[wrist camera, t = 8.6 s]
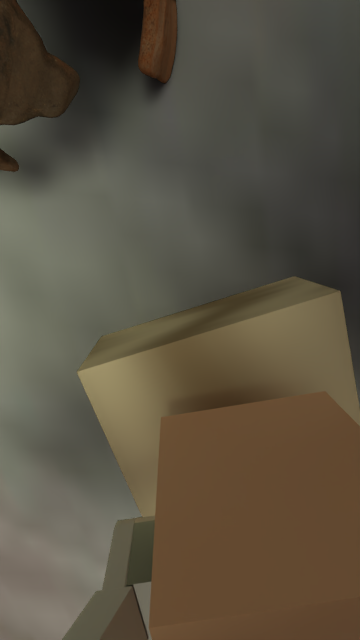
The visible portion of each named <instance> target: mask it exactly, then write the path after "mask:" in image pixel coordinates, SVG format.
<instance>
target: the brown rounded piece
mask: <svg viewBox="0 0 360 640" xmlns="http://www.w3.org/2000/svg"><path fill="white" fill-rule="evenodd" d="M143 6H144V12H143V27H142V34H141V44H140V51H139V58H138V67H139V69H140V71H141V72H142V73H143V74H145V75H147V76H150V77H152V78H157V79H158V80H159V81H160V82H162V83H166V82H167V81H168V79H169V78H170V75H171V71H172V66H173V62H174V58H175V50H176V40H177V9H176V0H144V5H143ZM79 83H80V78H79V75H78V73H77V72H76V71H75V70H74V69H73V68H72V67H70V66H69V65H67V64H66V63H65V62H63V61H62V60H60V59H59V58H57V57H56V56H54V55H52V54H50V53H48V52H47V51H46V49H45V46H44V44H43V41H42V39H41V37H40V36H39V34H38V33H37V31H36V30H35V28H34V26H33V25H32V23H31V21H30V20H29V19H28V18H27V16H26V15H25V13H24V12H23V10H22V9H21V8H20V6H19V5H18V3H17V1H16V0H0V125H17V124H20V123H24V122H26V121H28V120H30V119H32V118H35V117H38V116H39V117H48V118H54V117H59V116H60V115H62V114H63V113H64V112H65V111H66V109H67V108H68V106H69V105H70V103H71V101H72V100H73V98H74V97H75V95H76V94H77V92H78V88H79ZM18 169H19V165H18V163H17V161H16V160H15V159H14V158H12V157H11V156H9V155H8V154H6V153H5V152H4V151H3V150H1V149H0V170H4V171H13V172H15V171H18Z"/></svg>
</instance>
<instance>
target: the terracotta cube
mask: <svg viewBox="0 0 360 640" xmlns="http://www.w3.org/2000/svg"><path fill="white" fill-rule="evenodd" d="M149 631H150V634H151V638H152V640H360V426H359V425H358V424H357V423H356V422H355V421H354V420H353V419H352V418H351V417H350V416H349V415H348V414H347V413H346V412H345V411H344V410H343V409H342V408H341V407H340V406H339V405H338V404H337V403H336V401H335V400H334V399H333V398H332V397H331V396H330V395H329V394H328V393H327V392H326V391H322V392H316V393H310V394H303V395H297V396H291V397H285V398H278V399H272V400H266V401H260V402H253V403H247V404H241V405H234V406H228V407H222V408H216V409H209V410H203V411H197V412H191V413H184V414H178V415H172V416H166V417H161V424H160V441H159V458H158V476H157V493H156V510H155V528H154V545H153V563H152V580H151V597H150V615H149Z"/></svg>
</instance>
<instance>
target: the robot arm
mask: <svg viewBox="0 0 360 640" xmlns="http://www.w3.org/2000/svg"><path fill="white" fill-rule="evenodd" d="M154 528H155V516H147V517H139V518H133V519H125V520H118V521H117V523H116V525H115V528H114V533H113V538H112V543H111V548H110V553H109V558H108V563H107V568H106V573H105V578H104V583H103V588H102V590H101V591H96V592H95V594H94V595H93V596H92V598H91V599H90V601H89V602H88V604H87V605H86V606H85V608H84V609H83V611H82V612H81V613H80V615H79V616H78V618H77V619H76V621H75V622H74V623H73V625H72V626H71V628H70V629H69V630H68V632H67V633H66V635H65V636H64V638H63V639H62V640H152V638H151V634H150V631H149V615H150V597H151V580H152V563H153V545H154Z"/></svg>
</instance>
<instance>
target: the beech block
mask: <svg viewBox="0 0 360 640" xmlns="http://www.w3.org/2000/svg"><path fill="white" fill-rule="evenodd" d="M77 374H78V376H79V378H80V380H81V382H82V385H83V387H84V389H85V391H86V393H87V396H88V398H89V400H90V402H91V405H92V407H93V409H94V411H95V413H96V416H97V418H98V420H99V422H100V424H101V427H102V429H103V431H104V433H105V435H106V438H107V440H108V442H109V444H110V447H111V449H112V451H113V453H114V455H115V458H116V460H117V462H118V464H119V466H120V469H121V471H122V473H123V475H124V477H125V480H126V482H127V484H128V486H129V489H130V491H131V493H132V495H133V497H134V500H135V502H136V504H137V506H138V508H139V511H140V513H141V515H142V517H147V516H155V510H156V493H157V476H158V458H159V441H160V424H161V417H166V416H172V415H178V414H184V413H191V412H197V411H203V410H209V409H216V408H222V407H228V406H234V405H241V404H247V403H253V402H260V401H266V400H272V399H278V398H285V397H291V396H297V395H303V394H310V393H316V392H322V391H326V392H327V393H328V394H329V395H330V396H331V397H332V398H333V399H334V400H335V401H336V403H337V404H338V405H339V406H340V407H341V408H342V409H343V410H344V411H345V412H346V413H347V414H348V415H349V416H350V417H351V418H352V419H353V420H354V421H355V422H356V423H357V424H358V425H359V426H360V407H359V401H358V395H357V389H356V383H355V377H354V371H353V365H352V358H351V352H350V346H349V340H348V334H347V328H346V322H345V316H344V310H343V304H342V298H341V291H339V290H336V289H333V288H329V287H326V286H323V285H320V284H317V283H314V282H311V281H307V280H304V279H301V278H298V277H295V276H293V277H290V278H287V279H284V280H281V281H277V282H274V283H271V284H268V285H265V286H261V287H258V288H255V289H252V290H249V291H245V292H242V293H239V294H236V295H233V296H229V297H226V298H223V299H220V300H217V301H213V302H210V303H207V304H204V305H201V306H197V307H194V308H191V309H188V310H185V311H181V312H178V313H175V314H172V315H168V316H165V317H162V318H159V319H156V320H152V321H149V322H146V323H143V324H140V325H136V326H133V327H130V328H127V329H124V330H120V331H117V332H114V333H111V334H108V335H104V336H101V338H100V339H99V341H98V342H97V344H96V345H95V346H94V348H93V349H92V351H91V352H90V354H89V355H88V357H87V358H86V359H85V361H84V362H83V364H82V365H81V367H80V368H79V369H78V371H77Z"/></svg>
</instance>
